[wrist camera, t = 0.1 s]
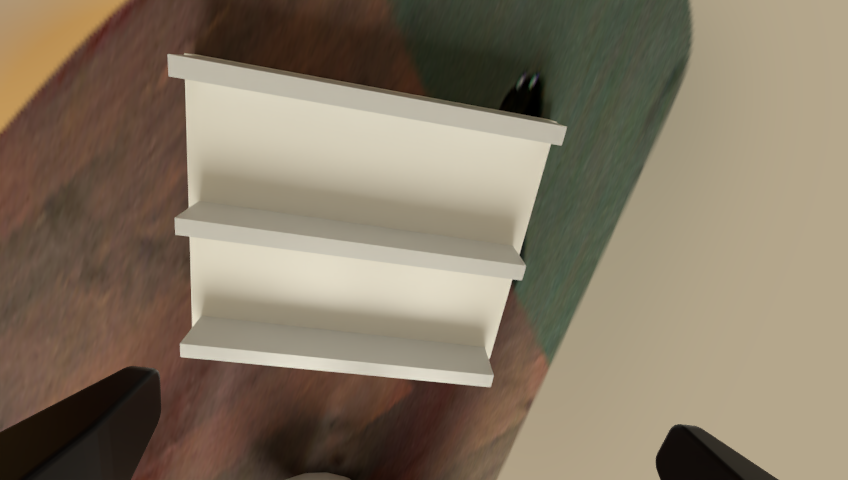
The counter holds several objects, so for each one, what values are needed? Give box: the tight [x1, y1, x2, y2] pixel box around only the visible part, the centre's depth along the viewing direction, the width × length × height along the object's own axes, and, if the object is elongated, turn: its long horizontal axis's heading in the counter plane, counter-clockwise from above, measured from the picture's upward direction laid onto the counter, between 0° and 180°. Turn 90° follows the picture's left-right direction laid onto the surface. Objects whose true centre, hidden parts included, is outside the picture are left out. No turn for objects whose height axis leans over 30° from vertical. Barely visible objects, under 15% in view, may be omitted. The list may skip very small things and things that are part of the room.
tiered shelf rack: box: [168, 53, 567, 387], centre depth 21 cm, size 14×17×4 cm
